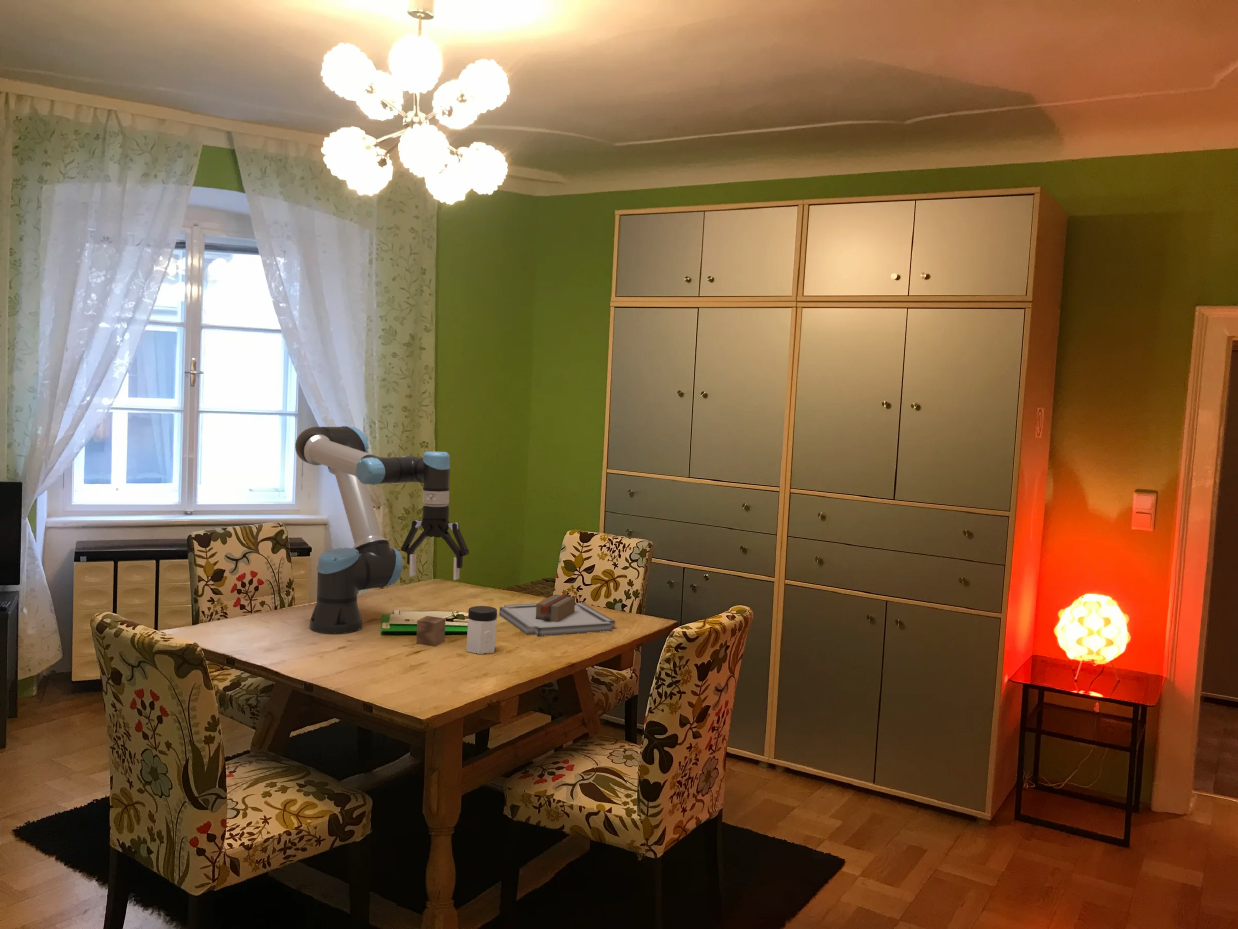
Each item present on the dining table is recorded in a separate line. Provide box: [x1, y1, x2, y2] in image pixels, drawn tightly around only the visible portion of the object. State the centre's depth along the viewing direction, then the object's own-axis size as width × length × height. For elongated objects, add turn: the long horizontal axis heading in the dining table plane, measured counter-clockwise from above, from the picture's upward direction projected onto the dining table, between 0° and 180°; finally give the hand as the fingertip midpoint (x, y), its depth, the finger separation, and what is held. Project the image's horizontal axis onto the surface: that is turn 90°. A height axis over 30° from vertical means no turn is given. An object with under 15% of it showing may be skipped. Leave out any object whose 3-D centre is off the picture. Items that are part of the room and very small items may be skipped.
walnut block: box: [415, 615, 446, 648], centre depth 287 cm, size 6×6×7 cm
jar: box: [466, 605, 498, 655], centre depth 282 cm, size 9×8×12 cm
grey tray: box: [498, 593, 616, 637], centre depth 319 cm, size 30×30×8 cm
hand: (434, 577), depth 287 cm, fingers open, 13 cm apart
